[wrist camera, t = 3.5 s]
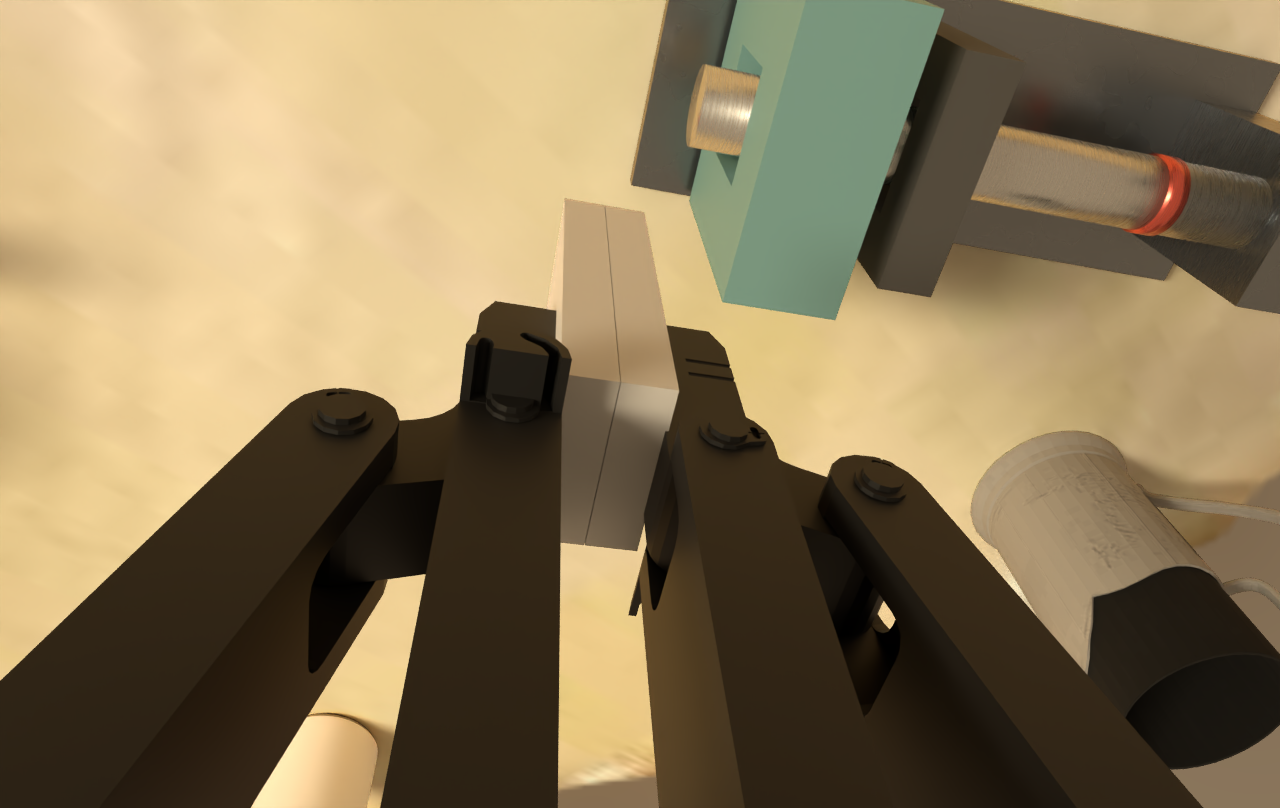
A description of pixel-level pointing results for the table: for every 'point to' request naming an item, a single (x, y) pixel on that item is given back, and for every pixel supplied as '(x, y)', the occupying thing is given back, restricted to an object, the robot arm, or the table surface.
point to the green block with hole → (809, 145)
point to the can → (323, 767)
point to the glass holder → (1133, 595)
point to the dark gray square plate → (939, 161)
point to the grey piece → (1048, 143)
